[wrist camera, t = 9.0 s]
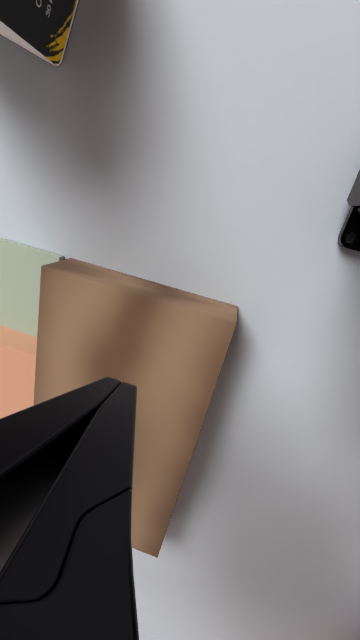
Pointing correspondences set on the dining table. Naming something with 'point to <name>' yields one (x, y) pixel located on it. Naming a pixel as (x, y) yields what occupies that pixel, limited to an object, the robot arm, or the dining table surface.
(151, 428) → the board
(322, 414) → the dining table surface
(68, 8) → the medicine bottle
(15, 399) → the coaster
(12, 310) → the mat
